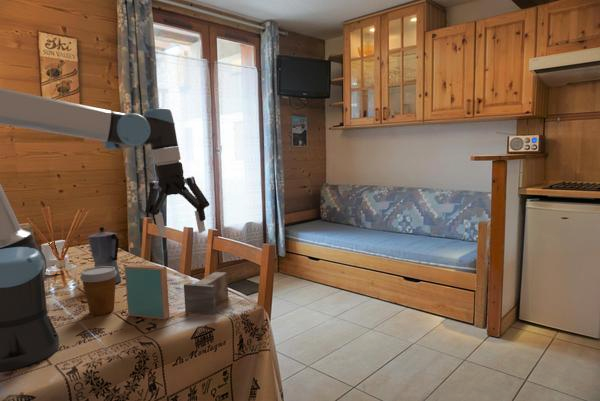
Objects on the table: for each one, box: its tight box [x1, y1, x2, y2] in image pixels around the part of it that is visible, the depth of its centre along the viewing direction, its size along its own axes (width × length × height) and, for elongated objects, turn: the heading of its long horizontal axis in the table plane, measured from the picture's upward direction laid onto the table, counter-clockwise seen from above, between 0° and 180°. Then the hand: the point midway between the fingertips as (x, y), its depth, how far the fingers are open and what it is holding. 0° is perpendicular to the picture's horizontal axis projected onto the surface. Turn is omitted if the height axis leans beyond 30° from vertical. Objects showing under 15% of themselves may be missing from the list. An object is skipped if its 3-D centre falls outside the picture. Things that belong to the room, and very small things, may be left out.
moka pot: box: [87, 226, 122, 285], centre depth 141 cm, size 10×15×20 cm, turn 62°
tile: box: [124, 263, 171, 320], centre depth 110 cm, size 2×12×14 cm, turn 72°
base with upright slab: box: [40, 239, 70, 269], centre depth 157 cm, size 9×9×12 cm
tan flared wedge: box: [183, 271, 229, 316], centre depth 117 cm, size 13×9×8 cm
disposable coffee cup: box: [79, 266, 117, 316], centre depth 115 cm, size 10×10×12 cm
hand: (182, 233), depth 120 cm, fingers open, 13 cm apart
